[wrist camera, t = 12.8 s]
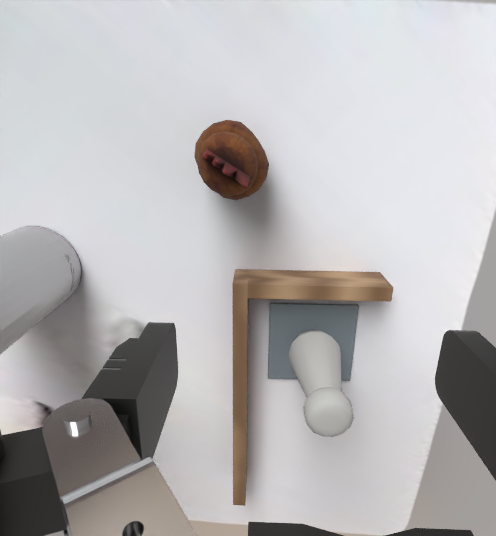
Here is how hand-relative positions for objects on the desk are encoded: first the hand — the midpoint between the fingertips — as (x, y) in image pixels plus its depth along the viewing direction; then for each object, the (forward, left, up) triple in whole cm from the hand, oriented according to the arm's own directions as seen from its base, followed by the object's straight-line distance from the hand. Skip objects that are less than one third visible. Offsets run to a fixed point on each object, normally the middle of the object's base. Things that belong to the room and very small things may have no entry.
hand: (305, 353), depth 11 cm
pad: (+5, -17, -30) cm, 35 cm away
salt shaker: (+5, -17, -30) cm, 35 cm away
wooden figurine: (-4, +4, -30) cm, 31 cm away
